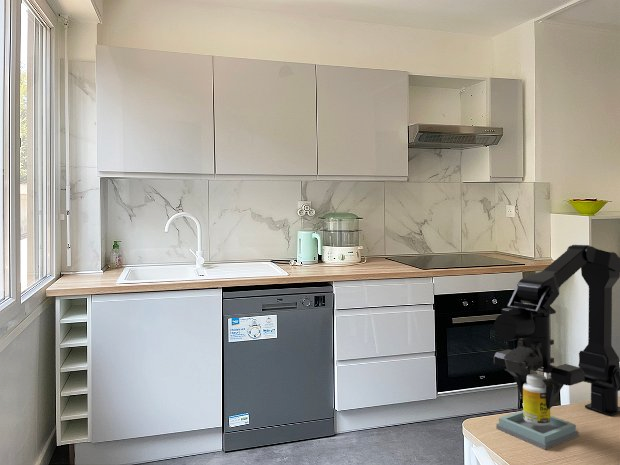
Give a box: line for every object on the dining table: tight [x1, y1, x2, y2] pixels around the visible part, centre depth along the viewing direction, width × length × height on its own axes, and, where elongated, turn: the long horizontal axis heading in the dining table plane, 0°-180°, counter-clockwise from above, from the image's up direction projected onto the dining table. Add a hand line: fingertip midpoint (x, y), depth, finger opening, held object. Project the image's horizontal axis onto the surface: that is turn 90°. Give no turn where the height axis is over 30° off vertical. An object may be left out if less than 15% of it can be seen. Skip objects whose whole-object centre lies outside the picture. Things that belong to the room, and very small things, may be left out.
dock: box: [495, 409, 579, 451], centre depth 105 cm, size 12×12×2 cm
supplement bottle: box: [522, 373, 551, 426], centre depth 105 cm, size 6×6×10 cm
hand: (536, 403), depth 105 cm, fingers closed on supplement bottle, 5 cm apart
